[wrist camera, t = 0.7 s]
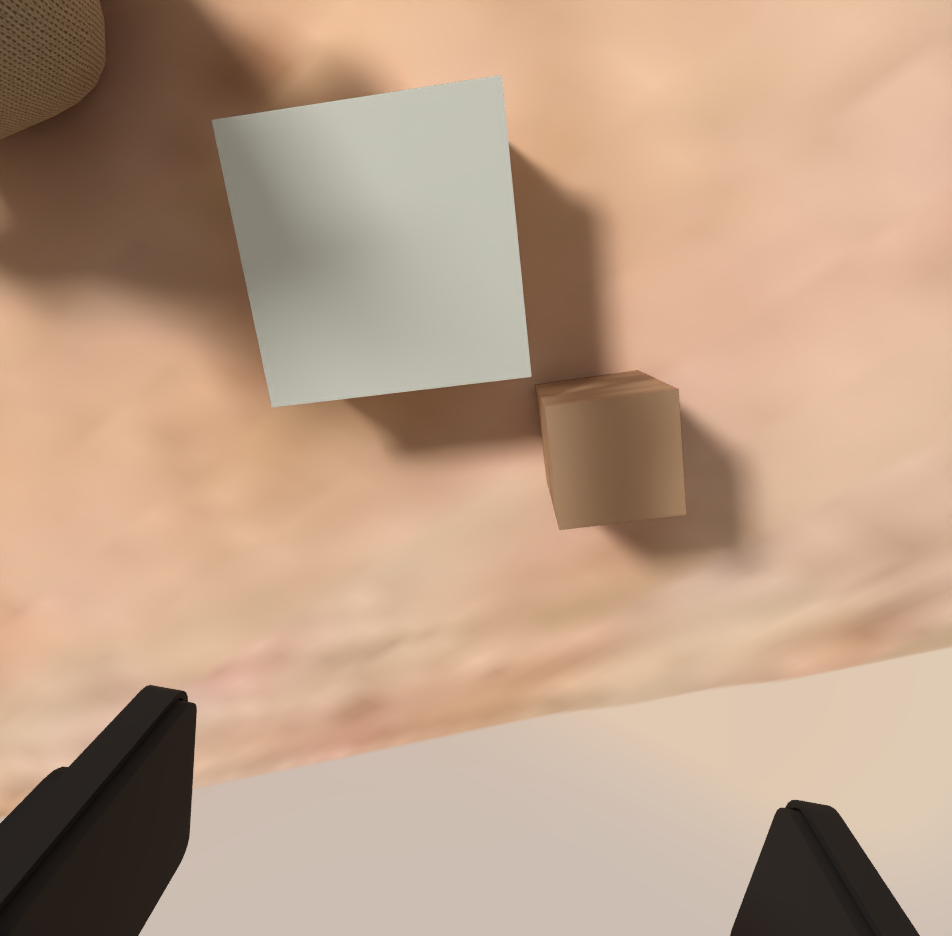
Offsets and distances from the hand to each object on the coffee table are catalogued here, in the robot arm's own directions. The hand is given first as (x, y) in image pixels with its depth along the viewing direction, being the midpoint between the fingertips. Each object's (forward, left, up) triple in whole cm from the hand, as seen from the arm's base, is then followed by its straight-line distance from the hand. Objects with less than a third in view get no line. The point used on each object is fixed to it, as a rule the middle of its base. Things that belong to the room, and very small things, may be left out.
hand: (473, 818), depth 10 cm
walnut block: (-5, -1, -22) cm, 23 cm away
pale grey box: (+3, -10, -22) cm, 25 cm away
